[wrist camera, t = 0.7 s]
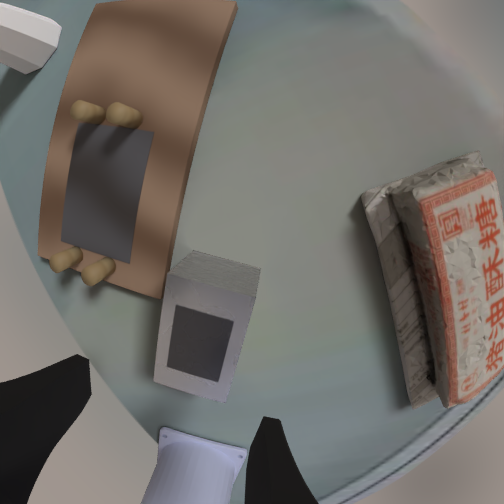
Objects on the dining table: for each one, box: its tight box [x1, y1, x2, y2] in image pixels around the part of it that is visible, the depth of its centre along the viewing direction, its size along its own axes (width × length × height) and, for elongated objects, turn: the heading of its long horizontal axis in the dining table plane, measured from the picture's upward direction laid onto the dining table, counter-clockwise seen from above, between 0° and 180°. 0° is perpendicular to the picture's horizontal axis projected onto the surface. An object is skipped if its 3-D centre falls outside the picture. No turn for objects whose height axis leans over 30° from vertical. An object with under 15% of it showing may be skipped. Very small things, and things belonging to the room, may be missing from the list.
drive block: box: [153, 250, 261, 403], centre depth 18 cm, size 7×4×5 cm, turn 166°
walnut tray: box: [38, 0, 238, 300], centre depth 16 cm, size 20×11×4 cm, turn 166°
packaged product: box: [361, 151, 504, 410], centre depth 16 cm, size 18×5×10 cm
